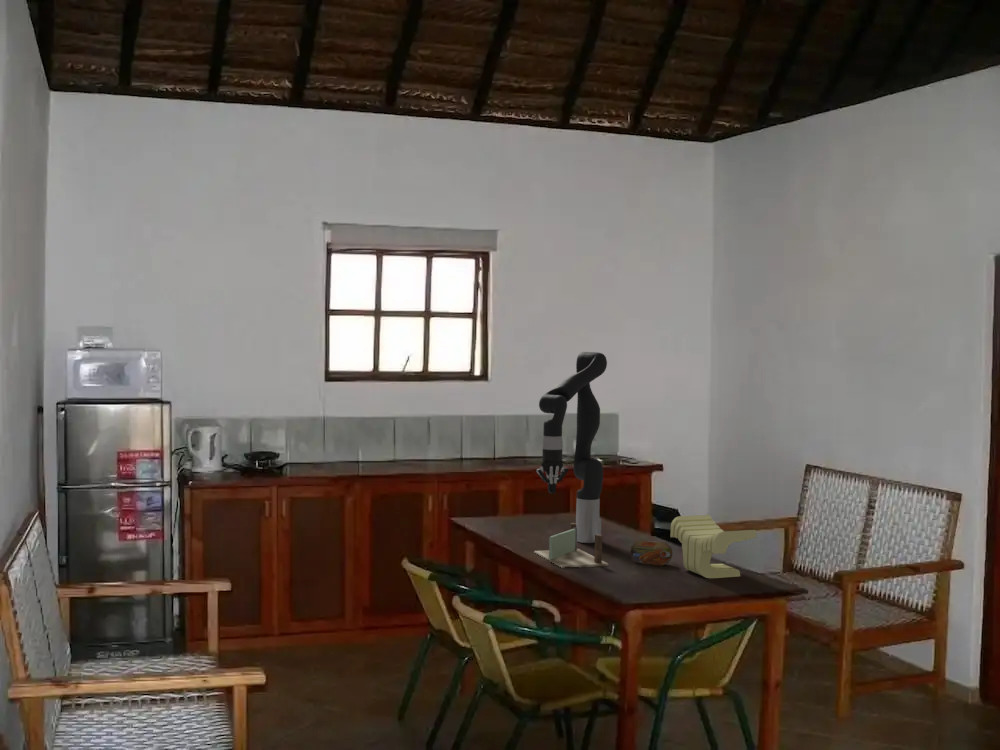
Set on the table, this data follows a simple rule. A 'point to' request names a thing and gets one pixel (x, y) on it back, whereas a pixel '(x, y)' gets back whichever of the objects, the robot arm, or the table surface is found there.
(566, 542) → the gate
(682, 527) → the pale yellow c-shaped piece
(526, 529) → the table surface
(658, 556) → the tin
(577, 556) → the gate frame
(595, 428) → the robot arm
